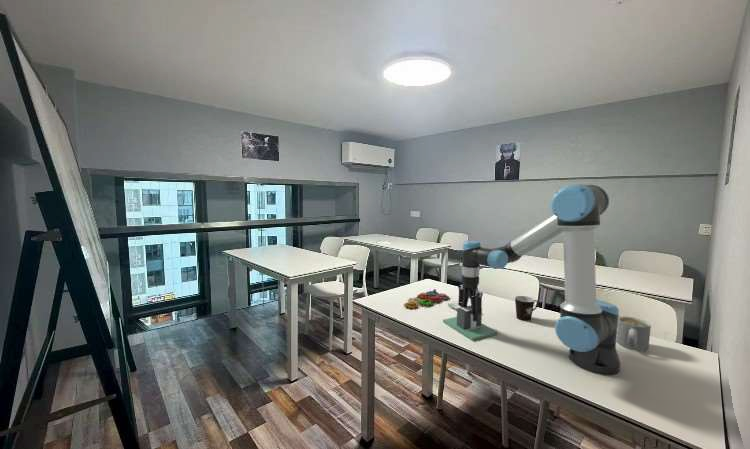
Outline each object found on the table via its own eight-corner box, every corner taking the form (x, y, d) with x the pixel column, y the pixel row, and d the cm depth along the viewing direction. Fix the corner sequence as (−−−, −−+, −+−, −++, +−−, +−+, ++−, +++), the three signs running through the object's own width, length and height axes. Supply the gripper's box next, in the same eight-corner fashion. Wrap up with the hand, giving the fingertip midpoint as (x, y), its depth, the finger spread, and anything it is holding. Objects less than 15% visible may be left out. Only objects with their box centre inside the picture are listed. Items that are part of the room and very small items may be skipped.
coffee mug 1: (516, 321, 145) (517, 301, 144) (512, 314, 154) (513, 295, 153) (542, 323, 143) (543, 303, 142) (537, 316, 151) (538, 297, 150)
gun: (444, 303, 160) (454, 298, 167) (443, 309, 160) (453, 304, 167) (475, 314, 147) (485, 309, 154) (475, 321, 148) (484, 316, 154)
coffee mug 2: (621, 336, 129) (623, 314, 128) (651, 346, 121) (654, 322, 120) (609, 345, 122) (611, 322, 121) (640, 357, 114) (643, 331, 113)
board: (497, 334, 132) (497, 322, 132) (472, 340, 126) (472, 329, 126) (465, 317, 150) (466, 307, 150) (442, 322, 145) (443, 311, 144)
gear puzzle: (415, 313, 156) (415, 305, 156) (394, 304, 168) (394, 297, 168) (451, 299, 176) (451, 292, 176) (430, 292, 188) (430, 286, 188)
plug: (481, 325, 138) (481, 308, 137) (464, 329, 134) (464, 311, 133) (473, 321, 142) (474, 304, 142) (456, 324, 138) (457, 307, 138)
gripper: (492, 279, 129) (489, 331, 131) (463, 269, 145) (462, 315, 148) (478, 281, 126) (476, 334, 128) (450, 271, 142) (449, 318, 145)
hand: (468, 324), depth 138 cm, fingers closed on plug, 5 cm apart
